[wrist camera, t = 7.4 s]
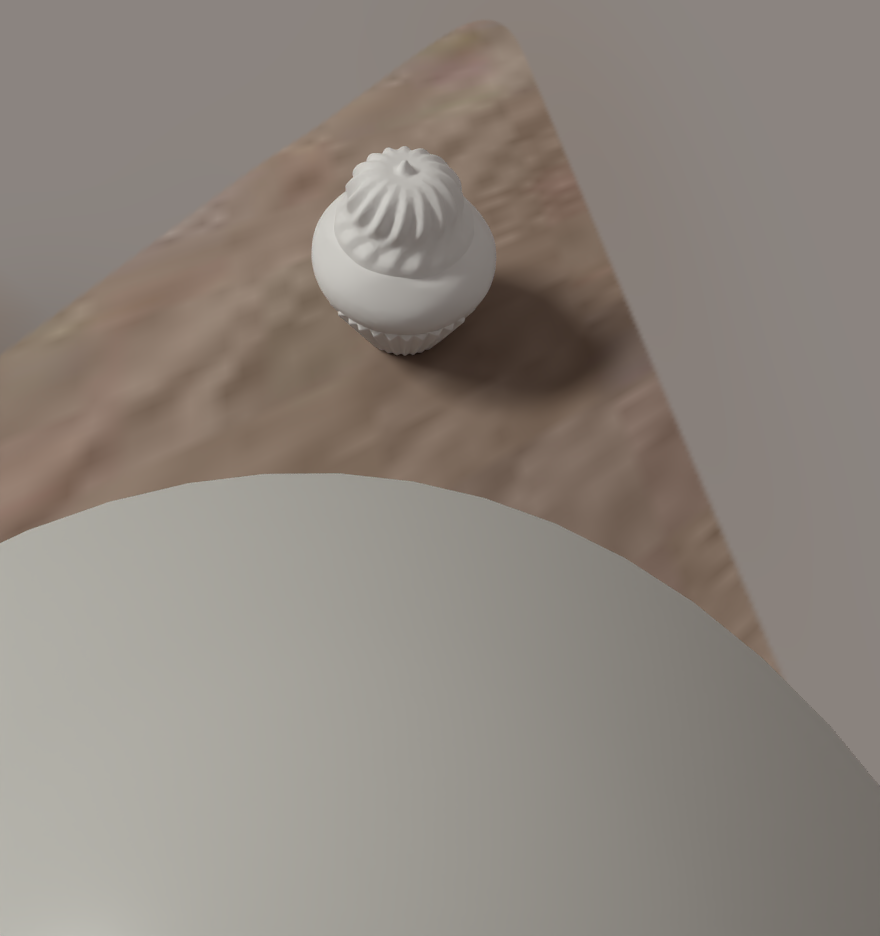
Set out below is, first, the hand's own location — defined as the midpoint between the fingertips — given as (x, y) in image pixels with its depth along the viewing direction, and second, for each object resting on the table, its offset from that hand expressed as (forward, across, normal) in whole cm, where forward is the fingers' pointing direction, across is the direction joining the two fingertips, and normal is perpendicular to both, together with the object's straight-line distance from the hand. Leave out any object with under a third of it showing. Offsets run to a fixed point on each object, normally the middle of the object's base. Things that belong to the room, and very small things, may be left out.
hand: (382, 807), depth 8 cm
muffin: (+18, +3, -4) cm, 19 cm away
